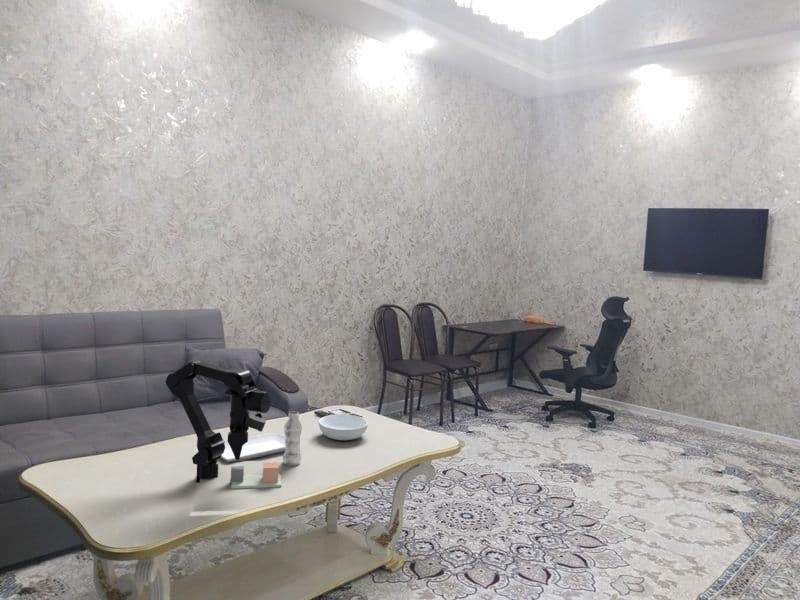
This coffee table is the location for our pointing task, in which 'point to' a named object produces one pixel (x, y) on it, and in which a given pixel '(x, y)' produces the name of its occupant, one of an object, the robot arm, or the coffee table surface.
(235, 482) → the pale green platform
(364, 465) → the coffee table surface
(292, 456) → the plastic bottle
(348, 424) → the serving bowl
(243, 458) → the tray
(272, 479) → the terracotta block
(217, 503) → the coffee table surface
